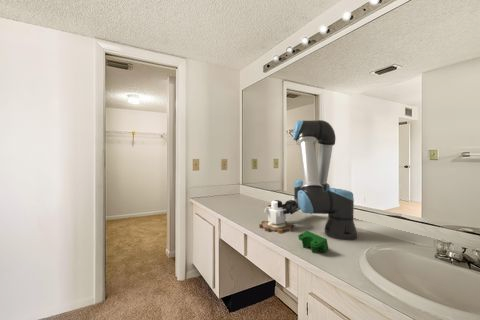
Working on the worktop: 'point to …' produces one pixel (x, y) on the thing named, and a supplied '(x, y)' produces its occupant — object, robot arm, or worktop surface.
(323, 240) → the clamp
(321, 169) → the robot arm
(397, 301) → the worktop surface
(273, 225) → the sprocket plate
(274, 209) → the medicine bottle
